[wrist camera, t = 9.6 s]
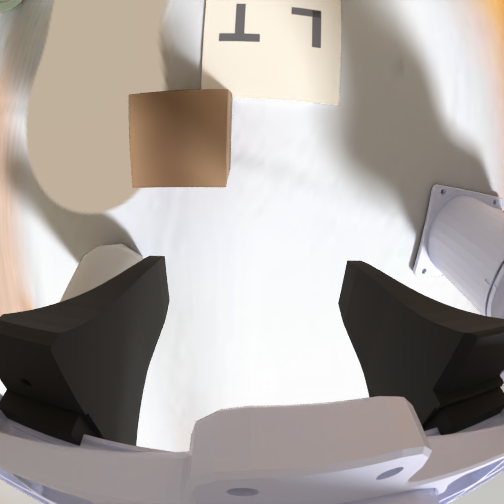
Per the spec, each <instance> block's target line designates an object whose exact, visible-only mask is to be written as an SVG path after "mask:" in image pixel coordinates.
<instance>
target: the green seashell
mask: <svg viewBox="0 0 504 504" xmlns="http://www.w3.org/2000/svg"><path fill="white" fill-rule="evenodd" d="M21 2H22V0H0V13H3V12H6V11H8V10H10V9H13V8H14V7H16V6H17V5H18V4H20V3H21Z"/></svg>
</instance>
